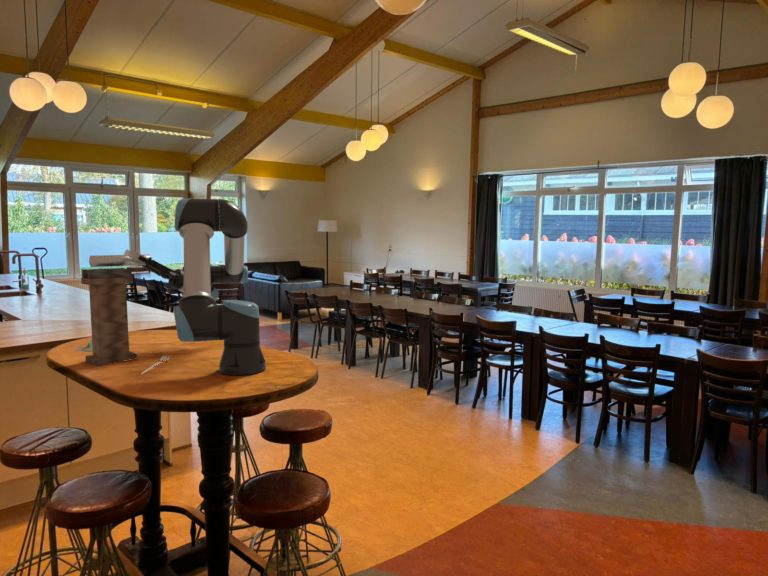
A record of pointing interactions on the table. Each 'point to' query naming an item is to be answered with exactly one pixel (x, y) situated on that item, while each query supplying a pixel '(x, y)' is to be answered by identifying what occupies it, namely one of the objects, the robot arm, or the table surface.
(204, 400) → the table surface
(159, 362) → the fork
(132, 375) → the table surface
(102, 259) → the chrome rounded rod
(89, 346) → the metal bracket
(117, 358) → the walnut stand
